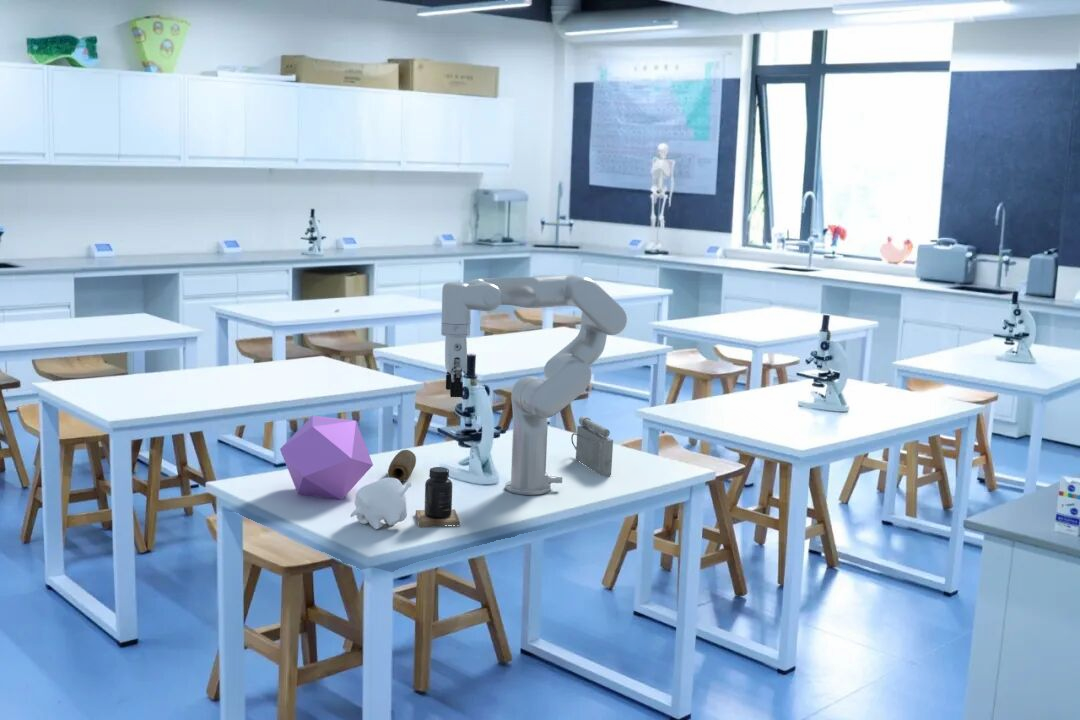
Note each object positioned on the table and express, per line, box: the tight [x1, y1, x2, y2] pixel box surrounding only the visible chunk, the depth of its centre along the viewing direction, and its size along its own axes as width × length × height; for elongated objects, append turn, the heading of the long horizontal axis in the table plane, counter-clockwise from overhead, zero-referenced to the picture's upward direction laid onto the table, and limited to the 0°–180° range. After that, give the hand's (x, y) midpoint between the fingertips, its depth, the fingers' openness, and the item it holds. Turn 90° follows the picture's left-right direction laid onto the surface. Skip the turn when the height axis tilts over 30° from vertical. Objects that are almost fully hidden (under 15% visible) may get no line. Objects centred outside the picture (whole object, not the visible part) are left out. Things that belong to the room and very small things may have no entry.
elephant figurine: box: [349, 477, 412, 530], centre depth 281 cm, size 12×18×12 cm
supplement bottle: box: [424, 466, 453, 519], centre depth 286 cm, size 7×7×12 cm
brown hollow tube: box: [387, 449, 417, 482], centre depth 326 cm, size 15×7×7 cm, turn 2°
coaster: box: [415, 508, 461, 528], centre depth 288 cm, size 10×10×1 cm
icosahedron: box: [279, 415, 374, 501], centre depth 306 cm, size 22×21×25 cm
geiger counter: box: [570, 415, 614, 477], centre depth 345 cm, size 14×6×25 cm
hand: (453, 393), depth 304 cm, fingers open, 9 cm apart
